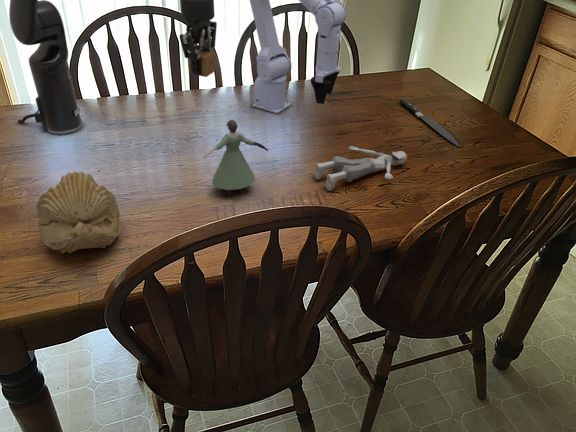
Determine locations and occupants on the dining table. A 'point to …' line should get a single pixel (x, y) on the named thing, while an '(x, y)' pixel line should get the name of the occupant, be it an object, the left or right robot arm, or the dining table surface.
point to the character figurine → (233, 162)
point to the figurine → (358, 166)
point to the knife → (429, 121)
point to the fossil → (78, 214)
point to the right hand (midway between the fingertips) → (323, 98)
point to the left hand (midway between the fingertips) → (201, 70)
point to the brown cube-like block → (204, 63)
